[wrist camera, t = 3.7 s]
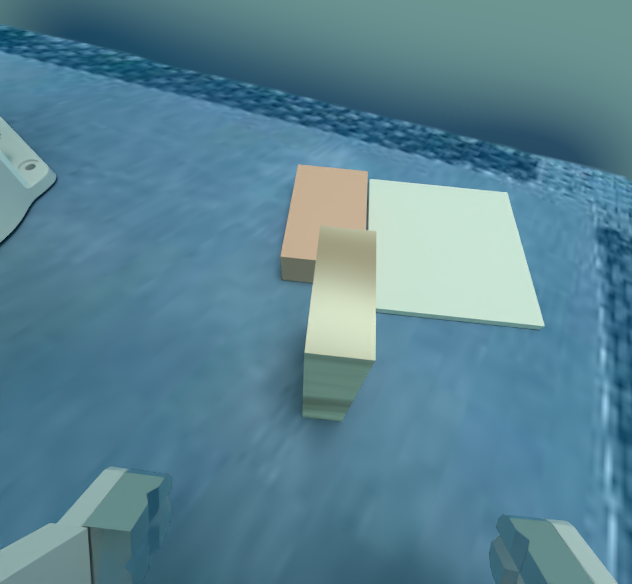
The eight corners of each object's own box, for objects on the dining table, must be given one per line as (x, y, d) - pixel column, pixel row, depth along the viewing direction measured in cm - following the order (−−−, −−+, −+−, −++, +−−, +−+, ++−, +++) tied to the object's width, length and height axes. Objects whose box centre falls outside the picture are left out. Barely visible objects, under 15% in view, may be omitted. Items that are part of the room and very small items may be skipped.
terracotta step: (358, 288, 26) (364, 265, 24) (282, 279, 26) (280, 256, 24) (362, 197, 32) (367, 171, 29) (298, 191, 32) (298, 164, 29)
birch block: (341, 421, 21) (375, 360, 12) (302, 416, 21) (304, 352, 12) (346, 334, 24) (376, 231, 15) (312, 330, 24) (320, 225, 15)
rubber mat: (539, 329, 25) (544, 326, 25) (365, 311, 25) (366, 307, 25) (503, 197, 32) (507, 192, 32) (368, 183, 33) (369, 178, 32)
